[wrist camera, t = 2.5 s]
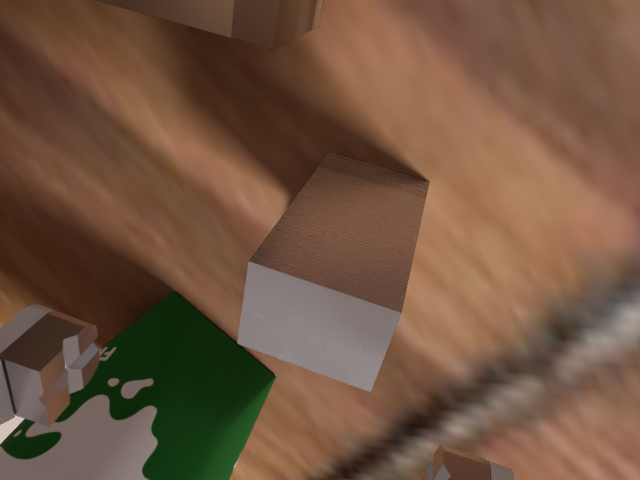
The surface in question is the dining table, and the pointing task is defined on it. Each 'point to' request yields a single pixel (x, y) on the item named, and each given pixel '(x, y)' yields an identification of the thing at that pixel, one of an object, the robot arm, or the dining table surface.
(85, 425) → the milk carton
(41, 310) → the robot arm
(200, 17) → the wooden tray
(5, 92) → the dining table surface
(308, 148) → the dining table surface
